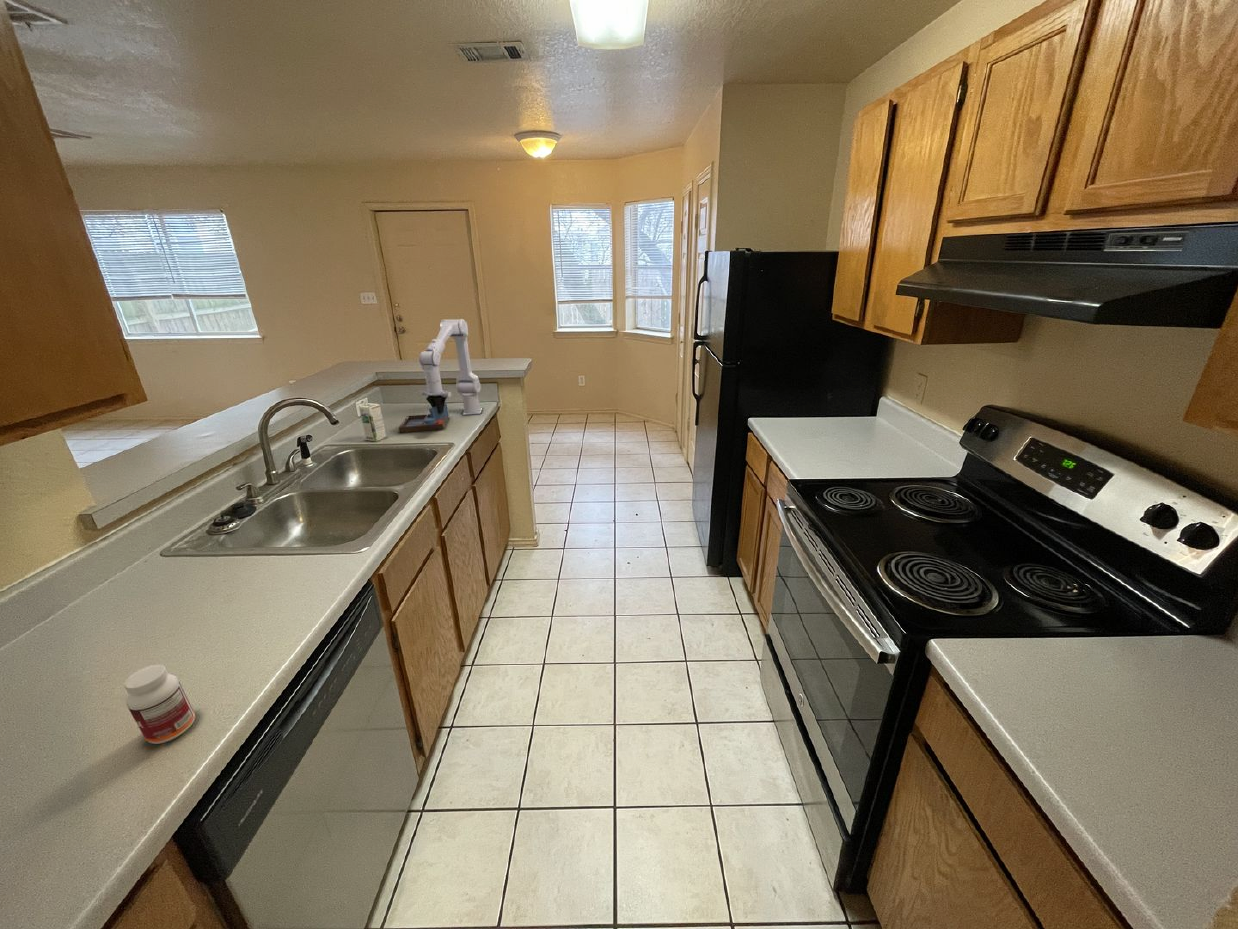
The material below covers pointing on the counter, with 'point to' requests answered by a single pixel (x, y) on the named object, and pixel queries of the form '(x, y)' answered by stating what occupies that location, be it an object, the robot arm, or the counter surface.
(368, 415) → the syrup box
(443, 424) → the sorting tray
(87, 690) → the counter surface
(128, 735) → the counter surface
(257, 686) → the counter surface
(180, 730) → the pill bottle
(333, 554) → the counter surface
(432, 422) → the blue spoon
